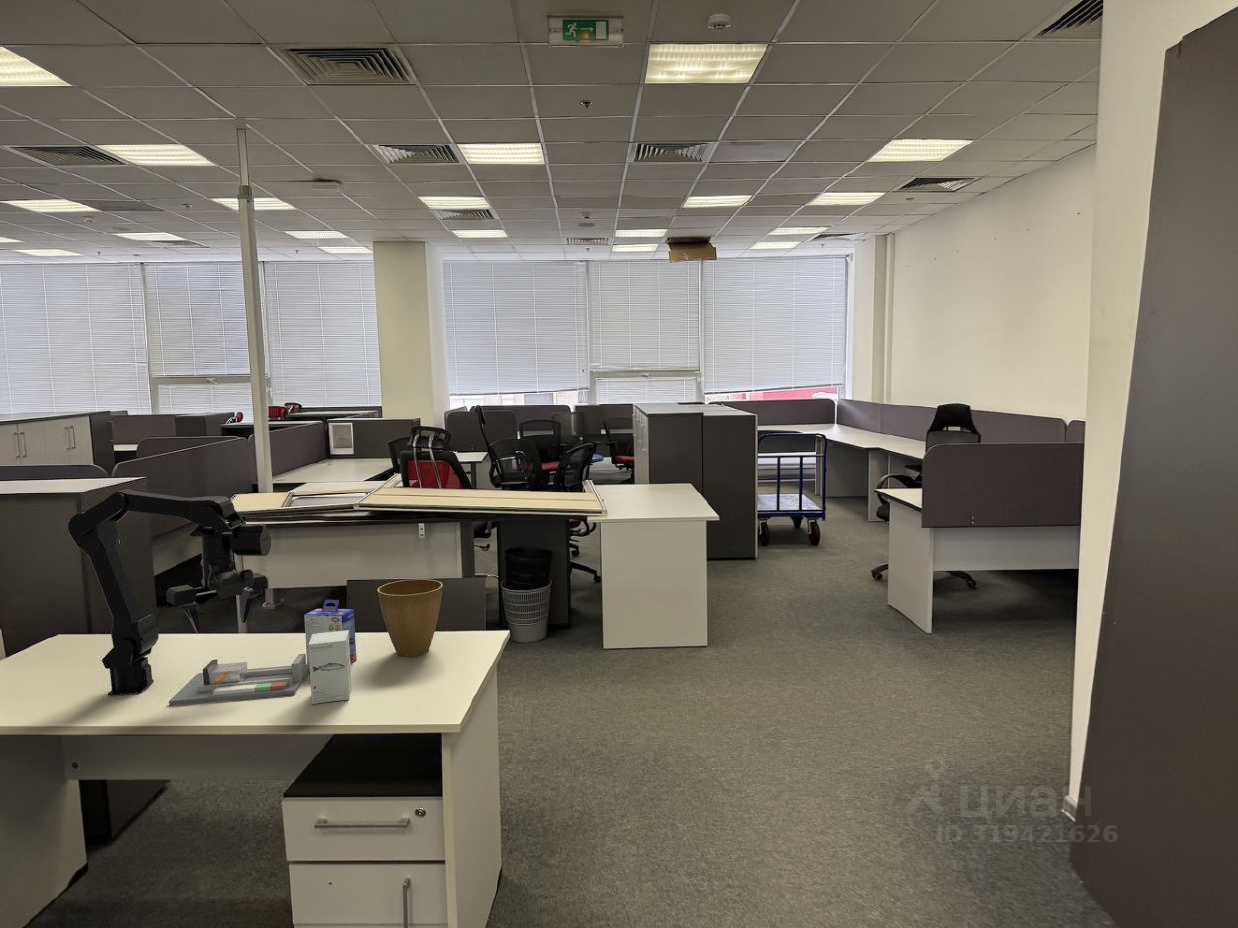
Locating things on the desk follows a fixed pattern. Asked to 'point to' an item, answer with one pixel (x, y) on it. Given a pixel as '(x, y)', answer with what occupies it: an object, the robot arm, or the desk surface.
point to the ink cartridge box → (331, 624)
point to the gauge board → (247, 685)
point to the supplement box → (330, 666)
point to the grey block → (224, 672)
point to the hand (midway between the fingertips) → (221, 627)
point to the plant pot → (411, 613)
